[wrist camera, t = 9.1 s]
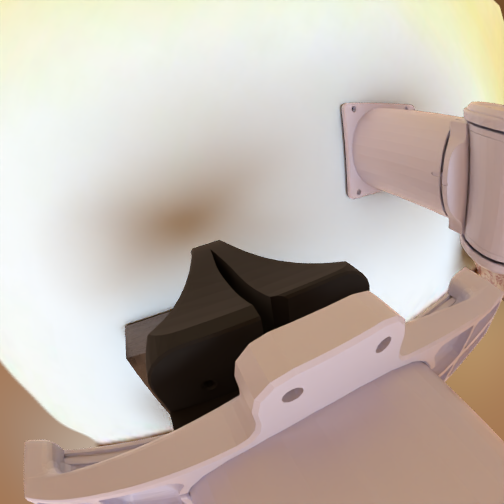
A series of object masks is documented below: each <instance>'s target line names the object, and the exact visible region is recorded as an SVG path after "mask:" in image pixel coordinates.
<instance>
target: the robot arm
mask: <svg viewBox="0 0 504 504" xmlns="http://www.w3.org/2000/svg"><path fill="white" fill-rule="evenodd" d="M352 107H353V111H352ZM463 111H464V117H457V116H451V115H445V114H438V113H431V112H423V111H415V109H414V106H413V105H407V104H389V103H344V104H343V105H342V117H343V127H344V138H345V151H346V166H347V188H348V196H349V197H350V198H352V199H356V198H359V197H363V196H366V195H370V194H373V193H377V192H380V191H385V192H388V193H390V194H393V195H396V196H398V197H401V198H403V199H406V200H408V201H411V202H413V203H416V204H418V205H420V206H423V207H425V208H427V209H430V210H432V211H434V212H437V213H439V214H441V215H443V216H445V217H448V218H449V228H450V229H452V230H454V231H456V232H458V233H459V234H460V241H461V245H462V247H463V249H464V250H465V252H466V253H467V254H468V255H469V257H471V258H472V259H473V260H474V261H475V262H476V263H477V264H478V265H480V266H481V267H483V268H485V269H486V270H489V271H491V272H494V273H497V274H503V275H504V105H501V104H495V103H488V102H471V103H470V104H469V105H468V106H467V107H466V108H464V109H463ZM357 191H358V193H357ZM191 254H192V259H191V266H190V271H189V275H188V278H187V281H186V284H185V287H184V289H183V291H182V294H181V296H180V298H179V299H178V301H177V303H176V304H175V306H174V308H173V309H172V310H171V311H170V313H169V314H168V315H167V316H166V318H165V319H164V320H163V321H162V322H161V323H160V324H159V325H158V326H157V327H156V328H155V329H154V330H153V331H151V332H150V333H149V334H148V336H147V343H146V355H145V363H146V372H147V379H148V384H149V386H150V388H151V390H152V391H153V393H154V394H155V395H156V396H157V398H158V399H159V400H160V401H161V402H162V404H163V405H164V406H165V407H166V408H167V410H168V411H169V412H170V415H171V420H172V424H173V428H174V431H173V432H171V433H168V434H164V435H160V436H155V437H151V438H146V439H142V440H137V441H132V442H126V443H121V444H115V445H108V446H101V447H93V448H84V449H74V450H63V449H62V448H61V447H59V446H58V445H57V444H55V443H53V442H51V441H48V440H27V441H25V451H24V496H25V498H26V500H28V501H30V502H32V503H35V504H504V442H503V441H502V439H500V437H499V436H498V435H497V434H496V433H495V432H494V431H493V430H492V429H491V428H490V427H489V426H488V425H487V424H486V423H485V422H484V421H483V420H482V419H481V418H480V417H479V416H478V415H477V414H476V413H475V412H474V411H473V410H472V409H471V408H470V407H469V406H468V405H467V404H466V403H465V402H464V401H463V400H462V399H461V398H460V397H459V396H458V395H457V394H456V393H455V392H454V391H453V390H452V389H451V388H450V387H449V386H448V385H447V384H446V383H445V381H446V380H447V379H448V378H449V377H450V376H451V375H452V374H453V372H454V371H455V370H456V369H457V368H458V367H459V366H460V364H461V363H462V362H463V361H464V360H465V359H466V357H467V356H468V355H469V354H470V352H471V351H472V350H473V349H474V347H475V346H476V345H477V344H478V343H479V342H480V340H481V339H482V338H483V337H484V335H485V334H486V332H487V330H488V328H489V326H490V324H491V322H492V320H493V318H494V316H495V313H496V311H497V309H498V307H499V305H500V302H501V300H502V298H503V295H504V292H503V291H502V290H500V289H499V288H497V287H496V286H494V285H493V284H491V283H490V282H488V281H487V280H485V279H484V278H482V277H481V276H479V275H478V274H476V273H475V272H473V271H471V270H470V269H468V268H467V267H464V268H463V269H462V270H461V271H459V272H458V273H457V274H456V275H454V277H453V278H452V280H451V282H450V284H449V288H448V293H447V294H446V295H444V296H443V297H442V298H441V299H439V300H438V301H437V302H436V303H434V304H433V305H432V306H430V307H429V308H428V309H426V310H425V311H424V312H422V313H421V314H420V315H418V316H417V317H416V318H414V319H413V320H411V321H409V322H406V323H405V319H404V318H403V317H402V316H400V315H399V314H398V313H397V312H396V311H394V310H393V309H392V308H391V307H389V306H388V305H387V304H386V303H385V302H383V301H382V300H381V299H380V298H378V297H377V296H376V295H374V294H373V293H371V292H369V283H368V280H367V278H366V277H365V276H364V275H363V274H362V273H361V272H360V271H358V270H357V269H356V268H354V267H353V266H352V265H350V264H349V263H347V262H346V261H344V262H333V263H309V264H307V263H293V262H284V261H278V260H273V259H268V258H264V257H260V256H257V255H254V254H251V253H248V252H245V251H243V250H240V249H238V248H236V247H233V246H231V245H229V244H227V243H225V242H223V241H220V240H218V241H215V242H212V243H209V244H205V245H202V246H199V247H196V248H193V249H192V251H191Z"/></svg>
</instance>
